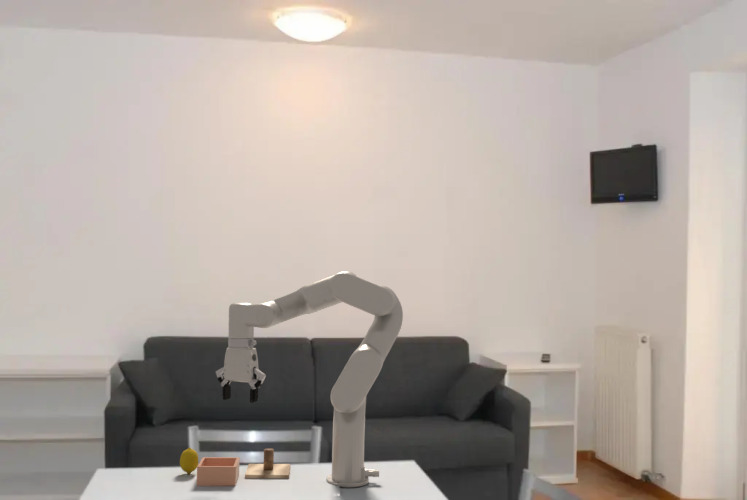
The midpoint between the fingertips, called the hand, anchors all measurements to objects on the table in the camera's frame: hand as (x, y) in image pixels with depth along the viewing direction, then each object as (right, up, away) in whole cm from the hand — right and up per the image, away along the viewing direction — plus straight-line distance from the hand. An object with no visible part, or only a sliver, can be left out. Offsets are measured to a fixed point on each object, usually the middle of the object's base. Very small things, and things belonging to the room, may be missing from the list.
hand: (240, 400), depth 240 cm
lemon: (-16, -23, +2) cm, 28 cm away
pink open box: (-5, -23, -6) cm, 24 cm away
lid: (+8, -23, +4) cm, 24 cm away
